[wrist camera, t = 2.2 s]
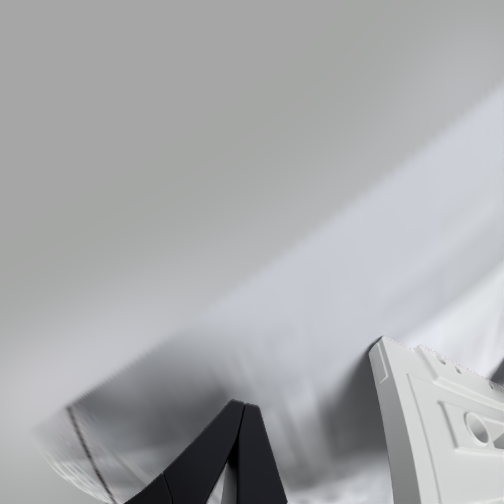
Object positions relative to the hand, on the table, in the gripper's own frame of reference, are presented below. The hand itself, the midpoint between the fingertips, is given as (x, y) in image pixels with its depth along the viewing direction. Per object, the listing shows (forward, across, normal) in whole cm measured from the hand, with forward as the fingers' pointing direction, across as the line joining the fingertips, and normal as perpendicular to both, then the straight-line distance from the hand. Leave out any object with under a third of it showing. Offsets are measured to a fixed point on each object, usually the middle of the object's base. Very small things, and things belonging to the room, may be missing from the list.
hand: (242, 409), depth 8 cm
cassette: (+4, -10, 0) cm, 11 cm away
